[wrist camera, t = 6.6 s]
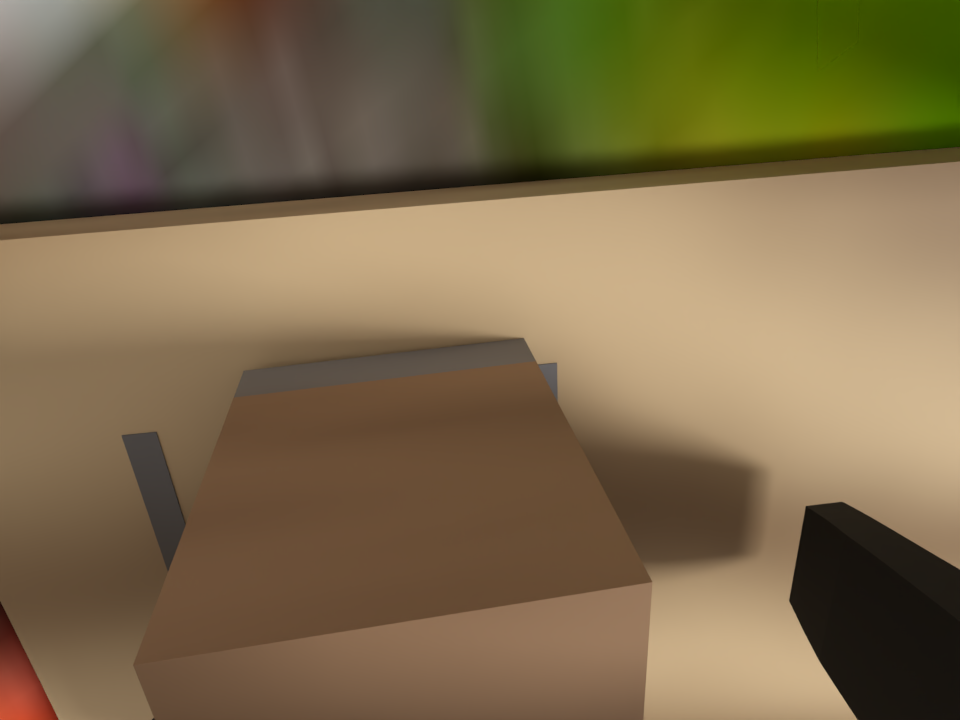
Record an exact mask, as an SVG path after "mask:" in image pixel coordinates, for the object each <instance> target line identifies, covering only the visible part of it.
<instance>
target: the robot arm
mask: <svg viewBox="0 0 960 720" xmlns="http://www.w3.org/2000/svg"><path fill="white" fill-rule="evenodd" d="M789 602H790V604H791V606H792V608H793V610H794V612H795V614H796V616H797V618H798V621H799V623H800V625H801V627H802V629H803V631H804V633H805V635H806V637H807V639H808V641H809V643H810V645H811V646H812V648H813V650H814V652H815V654H816V656H817V658H818V660H819V662H820V663H821V665H822V666H823V668H824V669H825V671H826V673H827V674H828V676H829V677H830V679H831V680H832V682H833V683H834V685H835V686H836V688H837V689H838V691H839V692H840V694H841V695H842V697H843V699H844V700H845V702H846V703H847V705H848V706H849V708H850V709H851V711H852V712H853V714H854V715H855V717H856V718H857V720H960V569H958V568H957V567H955V566H953V565H951V564H950V563H948V562H946V561H945V560H943V559H941V558H939V557H938V556H936V555H934V554H933V553H931V552H929V551H928V550H926V549H924V548H923V547H921V546H919V545H917V544H916V543H914V542H912V541H911V540H909V539H907V538H906V537H904V536H902V535H901V534H899V533H897V532H895V531H894V530H892V529H890V528H889V527H887V526H885V525H883V524H882V523H880V522H878V521H877V520H875V519H873V518H871V517H870V516H868V515H866V514H864V513H863V512H861V511H859V510H857V509H855V508H853V507H852V506H850V505H848V504H846V503H844V502H835V503H827V504H819V505H810V506H806V508H805V513H804V519H803V524H802V530H801V536H800V541H799V547H798V553H797V558H796V564H795V570H794V575H793V581H792V587H791V592H790V598H789ZM152 720H155V719H154V718H153V719H152Z"/></svg>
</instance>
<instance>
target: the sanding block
mask: <svg viewBox="0 0 960 720" xmlns="http://www.w3.org/2000/svg"><path fill="white" fill-rule="evenodd" d="M651 597H652V580H651V578H650V576H649V575H648V573H647V571H646V569H645V567H644V565H643V563H642V561H641V559H640V558H639V556H638V554H637V552H636V550H635V548H634V546H633V544H632V542H631V540H630V539H629V537H628V535H627V533H626V531H625V529H624V527H623V525H622V523H621V521H620V520H619V518H618V516H617V514H616V512H615V510H614V508H613V506H612V504H611V502H610V501H609V499H608V497H607V495H606V493H605V491H604V489H603V487H602V485H601V483H600V482H599V480H598V478H597V476H596V474H595V472H594V470H593V468H592V466H591V465H590V463H589V461H588V459H587V457H586V455H585V453H584V451H583V449H582V447H581V446H580V444H579V442H578V440H577V438H576V436H575V434H574V432H573V430H572V428H571V427H570V425H569V423H568V421H567V419H566V417H565V415H564V413H563V411H562V409H561V408H560V406H559V404H558V402H557V400H556V398H555V396H554V394H553V392H552V390H551V389H550V387H549V385H548V383H547V381H546V379H545V377H544V375H543V373H542V372H541V370H540V368H539V366H538V364H537V362H536V360H535V358H534V356H533V354H532V353H531V351H530V349H529V347H528V345H527V343H526V341H525V339H524V338H520V339H511V340H503V341H494V342H486V343H477V344H468V345H460V346H451V347H443V348H434V349H426V350H417V351H408V352H400V353H391V354H383V355H374V356H366V357H357V358H348V359H340V360H331V361H323V362H314V363H306V364H297V365H289V366H280V367H271V368H263V369H254V370H246V371H243V374H242V376H241V379H240V382H239V384H238V387H237V390H236V392H235V395H234V398H233V400H232V403H231V406H230V408H229V411H228V414H227V416H226V419H225V422H224V424H223V427H222V430H221V432H220V435H219V438H218V440H217V443H216V446H215V448H214V451H213V454H212V456H211V459H210V462H209V464H208V467H207V470H206V472H205V475H204V478H203V480H202V483H201V486H200V488H199V491H198V494H197V496H196V499H195V502H194V504H193V507H192V510H191V512H190V515H189V518H188V520H187V523H186V526H185V528H184V531H183V534H182V536H181V539H180V542H179V544H178V547H177V550H176V552H175V555H174V557H173V560H172V563H171V565H170V568H169V571H168V573H167V576H166V579H165V581H164V584H163V587H162V589H161V592H160V595H159V597H158V600H157V603H156V605H155V608H154V611H153V613H152V616H151V619H150V621H149V624H148V627H147V629H146V632H145V635H144V637H143V640H142V643H141V645H140V648H139V651H138V653H137V656H136V659H135V661H134V664H133V666H134V669H135V671H136V674H137V676H138V679H139V681H140V684H141V686H142V689H143V691H144V694H145V696H146V699H147V701H148V704H149V706H150V709H151V711H152V714H153V716H154V719H155V720H643V717H644V702H645V687H646V672H647V657H648V642H649V627H650V612H651Z"/></svg>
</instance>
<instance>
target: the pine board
mask: <svg viewBox="0 0 960 720" xmlns="http://www.w3.org/2000/svg"><path fill="white" fill-rule="evenodd" d="M520 338H524V339H525V341H526V343H527V345H528V347H529V349H530V351H531V353H532V354H533V356H534V358H535V360H536V362H537V364H538V366H539V368H540V370H541V372H542V373H543V375H544V377H545V379H546V381H547V383H548V385H549V387H550V389H551V390H552V392H553V394H554V396H555V398H556V400H557V402H558V404H559V406H560V408H561V409H562V411H563V413H564V415H565V417H566V419H567V421H568V423H569V425H570V427H571V428H572V430H573V432H574V434H575V436H576V438H577V440H578V442H579V444H580V446H581V447H582V449H583V451H584V453H585V455H586V457H587V459H588V461H589V463H590V465H591V466H592V468H593V470H594V472H595V474H596V476H597V478H598V480H599V482H600V483H601V485H602V487H603V489H604V491H605V493H606V495H607V497H608V499H609V501H610V502H611V504H612V506H613V508H614V510H615V512H616V514H617V516H618V518H619V520H620V521H621V523H622V525H623V527H624V529H625V531H626V533H627V535H628V537H629V539H630V540H631V542H632V544H633V546H634V548H635V550H636V552H637V554H638V556H639V558H640V559H641V561H642V563H643V565H644V567H645V569H646V571H647V573H648V575H649V576H650V578H651V580H652V597H651V612H650V627H649V642H648V657H647V672H646V687H645V702H644V717H643V720H857V718H856V717H855V715H854V714H853V712H852V711H851V709H850V708H849V706H848V705H847V703H846V702H845V700H844V699H843V697H842V695H841V694H840V692H839V691H838V689H837V688H836V686H835V685H834V683H833V682H832V680H831V679H830V677H829V676H828V674H827V673H826V671H825V669H824V668H823V666H822V665H821V663H820V662H819V660H818V658H817V656H816V654H815V652H814V650H813V648H812V646H811V645H810V643H809V641H808V639H807V637H806V635H805V633H804V631H803V629H802V627H801V625H800V623H799V621H798V618H797V616H796V614H795V612H794V610H793V608H792V606H791V604H790V602H789V598H790V592H791V587H792V581H793V575H794V570H795V564H796V558H797V553H798V547H799V541H800V536H801V530H802V524H803V519H804V513H805V508H806V506H810V505H819V504H827V503H835V502H844V503H846V504H848V505H850V506H852V507H853V508H855V509H857V510H859V511H861V512H863V513H864V514H866V515H868V516H870V517H871V518H873V519H875V520H877V521H878V522H880V523H882V524H883V525H885V526H887V527H889V528H890V529H892V530H894V531H895V532H897V533H899V534H901V535H902V536H904V537H906V538H907V539H909V540H911V541H912V542H914V543H916V544H917V545H919V546H921V547H923V548H924V549H926V550H928V551H929V552H931V553H933V554H934V555H936V556H938V557H939V558H941V559H943V560H945V561H946V562H948V563H950V564H951V565H953V566H955V567H957V568H958V569H960V147H952V148H940V149H928V150H915V151H903V152H890V153H878V154H866V155H853V156H841V157H829V158H816V159H804V160H791V161H779V162H767V163H754V164H742V165H729V166H717V167H705V168H692V169H680V170H668V171H655V172H643V173H630V174H618V175H606V176H593V177H581V178H569V179H556V180H544V181H531V182H519V183H507V184H494V185H482V186H470V187H457V188H445V189H432V190H420V191H408V192H395V193H383V194H370V195H358V196H346V197H333V198H321V199H309V200H296V201H284V202H271V203H259V204H247V205H234V206H222V207H210V208H197V209H185V210H172V211H160V212H148V213H135V214H123V215H110V216H98V217H86V218H73V219H61V220H49V221H36V222H24V223H11V224H0V602H1V604H2V606H3V608H4V610H5V612H6V614H7V616H8V618H9V620H10V622H11V624H12V626H13V628H14V630H15V632H16V634H17V636H18V638H19V640H20V642H21V644H22V646H23V648H24V650H25V652H26V654H27V656H28V658H29V660H30V662H31V664H32V666H33V668H34V670H35V672H36V674H37V676H38V678H39V680H40V682H41V685H42V687H43V689H44V691H45V693H46V695H47V697H48V699H49V701H50V703H51V705H52V707H53V709H54V711H55V713H56V715H57V717H58V719H59V720H152V719H153V718H154V716H153V714H152V711H151V709H150V706H149V704H148V701H147V699H146V696H145V694H144V691H143V689H142V686H141V684H140V681H139V679H138V676H137V674H136V671H135V669H134V666H133V664H134V661H135V659H136V656H137V653H138V651H139V648H140V645H141V643H142V640H143V637H144V635H145V632H146V629H147V627H148V624H149V621H150V619H151V616H152V613H153V611H154V608H155V605H156V603H157V600H158V597H159V595H160V592H161V589H162V587H163V584H164V581H165V579H166V576H167V573H168V571H169V568H170V565H171V563H172V560H173V557H174V555H175V552H176V550H177V547H178V544H179V542H180V539H181V536H182V534H183V531H184V528H185V526H186V523H187V520H188V518H189V515H190V512H191V510H192V507H193V504H194V502H195V499H196V496H197V494H198V491H199V488H200V486H201V483H202V480H203V478H204V475H205V472H206V470H207V467H208V464H209V462H210V459H211V456H212V454H213V451H214V448H215V446H216V443H217V440H218V438H219V435H220V432H221V430H222V427H223V424H224V422H225V419H226V416H227V414H228V411H229V408H230V406H231V403H232V400H233V398H234V395H235V392H236V390H237V387H238V384H239V382H240V379H241V376H242V374H243V371H246V370H254V369H263V368H271V367H280V366H289V365H297V364H306V363H314V362H323V361H331V360H340V359H348V358H357V357H366V356H374V355H383V354H391V353H400V352H408V351H417V350H426V349H434V348H443V347H451V346H460V345H468V344H477V343H486V342H494V341H503V340H511V339H520Z"/></svg>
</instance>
